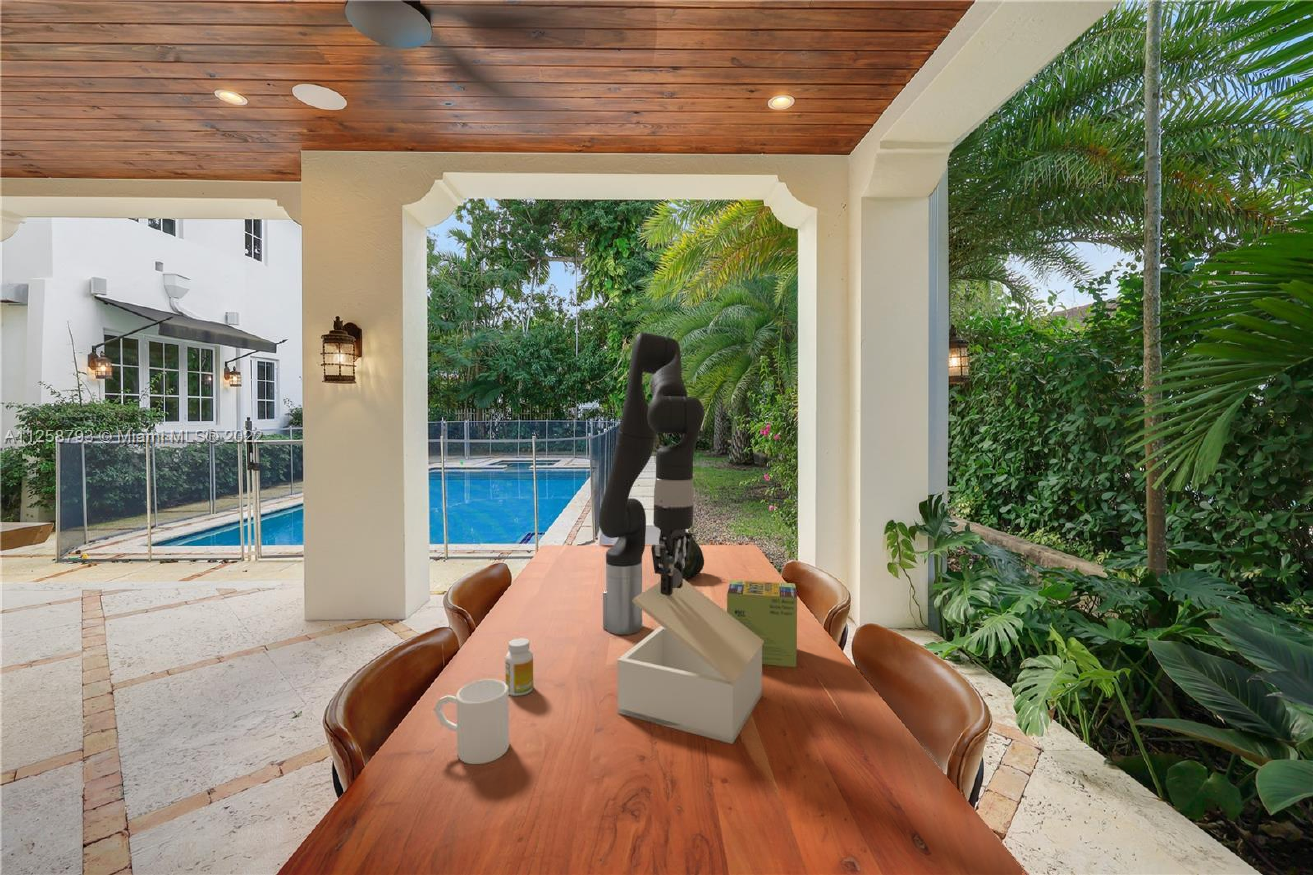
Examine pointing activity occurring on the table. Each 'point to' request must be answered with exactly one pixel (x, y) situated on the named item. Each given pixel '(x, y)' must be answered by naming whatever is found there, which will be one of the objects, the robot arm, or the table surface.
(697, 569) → the squash
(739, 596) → the protein box
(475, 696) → the mug
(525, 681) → the supplement bottle
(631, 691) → the carton
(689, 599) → the lid
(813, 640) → the table surface
